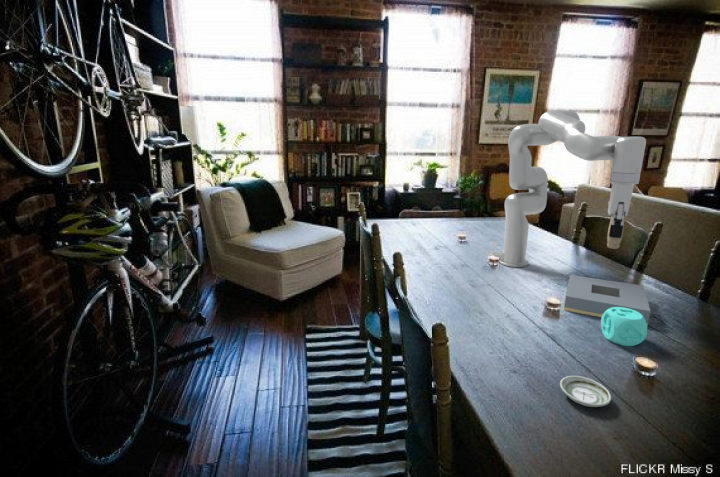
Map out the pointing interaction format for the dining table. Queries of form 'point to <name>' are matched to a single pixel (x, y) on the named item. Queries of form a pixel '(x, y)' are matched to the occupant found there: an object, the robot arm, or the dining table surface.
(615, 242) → the handle
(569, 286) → the socket block
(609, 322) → the decorative dice
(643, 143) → the robot arm
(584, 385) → the saucer
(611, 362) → the dining table surface
